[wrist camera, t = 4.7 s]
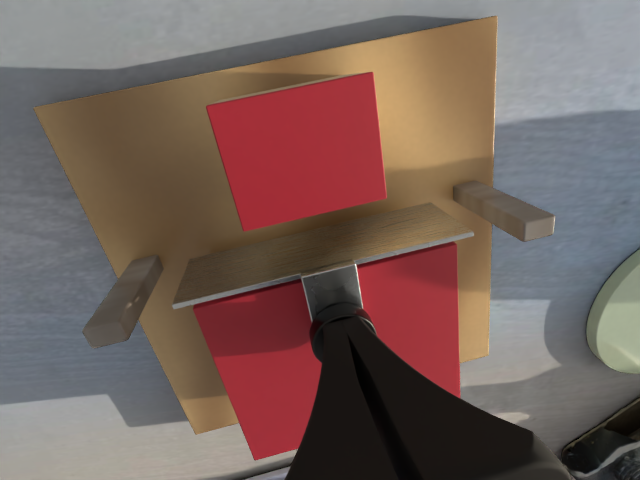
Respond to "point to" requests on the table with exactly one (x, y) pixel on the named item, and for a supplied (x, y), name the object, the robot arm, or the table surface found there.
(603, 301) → the plate
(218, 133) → the cake slice
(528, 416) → the table surface
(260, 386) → the red and beige block
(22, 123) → the table surface
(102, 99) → the board
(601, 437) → the camera
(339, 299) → the blade
